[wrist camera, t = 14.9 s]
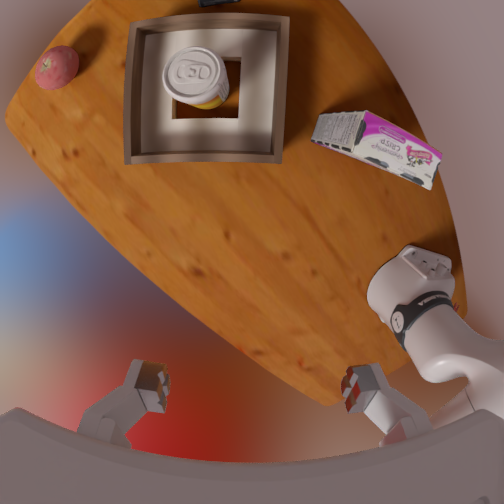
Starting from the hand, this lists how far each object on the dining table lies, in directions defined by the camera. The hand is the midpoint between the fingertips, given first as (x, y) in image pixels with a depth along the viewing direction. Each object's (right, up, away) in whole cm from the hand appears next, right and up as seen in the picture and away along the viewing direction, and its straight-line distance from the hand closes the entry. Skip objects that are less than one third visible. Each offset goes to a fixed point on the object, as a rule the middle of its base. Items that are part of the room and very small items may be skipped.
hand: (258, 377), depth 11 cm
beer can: (-6, +29, +22) cm, 37 cm away
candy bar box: (+14, +23, +26) cm, 38 cm away
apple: (-30, +35, +17) cm, 50 cm away
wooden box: (-6, +29, +22) cm, 37 cm away
